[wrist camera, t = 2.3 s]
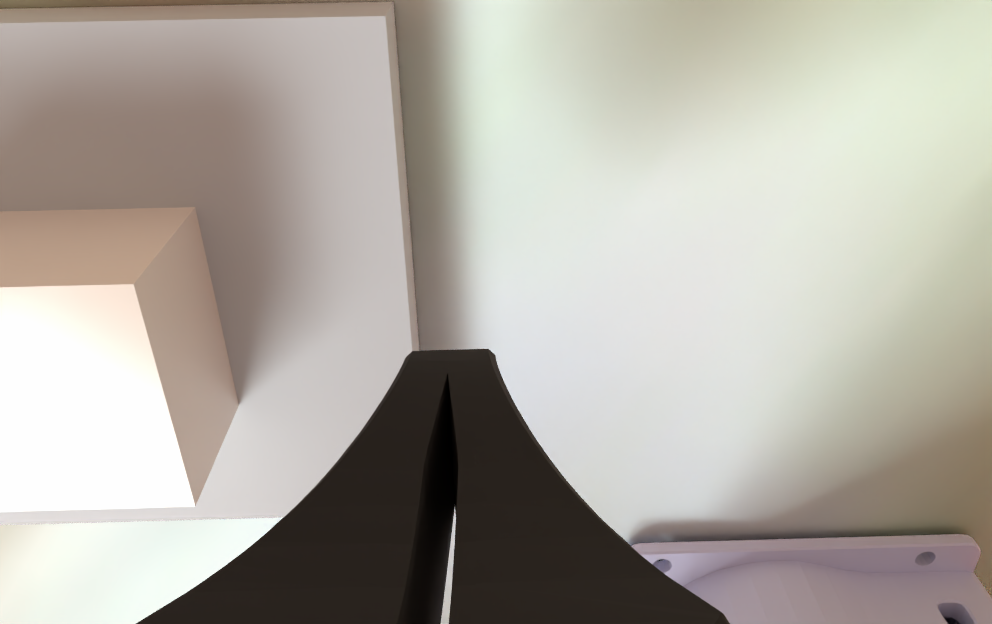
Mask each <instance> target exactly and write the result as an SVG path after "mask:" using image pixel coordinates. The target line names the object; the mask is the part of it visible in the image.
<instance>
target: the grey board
mask: <svg viewBox="0 0 992 624" xmlns="http://www.w3.org/2000/svg"><path fill="white" fill-rule="evenodd" d="M179 207H195V209H196V213H197V218H198V222H199V227H200V231H201V236H202V240H203V245H204V249H205V254H206V258H207V263H208V267H209V272H210V277H211V281H212V286H213V290H214V295H215V299H216V304H217V308H218V313H219V317H220V322H221V326H222V331H223V335H224V340H225V344H226V349H227V353H228V358H229V363H230V367H231V372H232V376H233V381H234V385H235V390H236V394H237V399H238V403H239V406H238V409H237V411H236V413H235V416H234V418H233V420H232V423H231V425H230V427H229V430H228V432H227V434H226V437H225V439H224V441H223V444H222V446H221V448H220V450H219V453H218V455H217V457H216V460H215V462H214V464H213V467H212V469H211V471H210V474H209V476H208V478H207V481H206V483H205V485H204V488H203V490H202V492H201V495H200V497H199V499H198V502H197V504H196V506H195V507H163V508H127V509H90V510H54V511H17V512H0V525H22V524H59V523H95V522H131V521H167V520H203V519H240V518H276V517H285V516H286V515H287V514H288V513H289V512H290V511H291V510H292V509H293V508H294V507H295V506H296V505H297V504H298V503H299V502H300V501H301V500H302V499H303V498H304V497H305V496H306V495H307V494H308V493H309V492H310V491H311V490H312V489H313V488H314V487H315V486H316V485H317V484H318V483H319V482H320V480H321V479H322V478H323V477H324V476H325V475H326V474H327V473H328V471H329V470H330V469H331V468H332V467H333V466H334V465H335V463H336V462H337V461H338V460H339V458H340V457H341V456H342V455H343V453H344V452H345V451H346V449H347V448H348V447H349V446H350V444H351V443H352V442H353V441H354V439H355V438H356V437H357V435H358V434H359V433H360V431H361V430H362V429H363V427H364V426H365V424H366V423H367V422H368V420H369V419H370V417H371V416H372V414H373V413H374V411H375V410H376V408H377V407H378V405H379V404H380V402H381V401H382V399H383V398H384V396H385V394H386V393H387V391H388V389H389V388H390V386H391V385H392V383H393V381H394V379H395V378H396V376H397V374H398V372H399V370H400V368H401V366H402V364H403V362H404V360H405V358H406V356H408V355H409V354H410V353H411V352H412V351H420V349H419V336H418V323H417V309H416V296H415V282H414V269H413V255H412V242H411V229H410V215H409V202H408V188H407V175H406V161H405V148H404V134H403V121H402V108H401V94H400V81H399V67H398V54H397V40H396V27H395V14H394V1H393V2H339V3H284V4H230V5H175V6H121V7H66V8H12V9H0V211H42V210H88V209H133V208H179Z"/></svg>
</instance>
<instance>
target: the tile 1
mask: <svg viewBox="0 0 992 624" xmlns="http://www.w3.org/2000/svg"><path fill="white" fill-rule="evenodd" d="M238 406H239V403H238V399H237V394H236V390H235V385H234V381H233V376H232V372H231V367H230V363H229V358H228V353H227V349H226V344H225V340H224V335H223V331H222V326H221V322H220V317H219V313H218V308H217V304H216V299H215V295H214V290H213V286H212V281H211V277H210V272H209V267H208V263H207V258H206V254H205V249H204V245H203V240H202V236H201V231H200V227H199V222H198V218H197V213H196V209H195V207H179V208H133V209H88V210H42V211H0V512H17V511H54V510H90V509H127V508H163V507H195V506H196V504H197V502H198V499H199V497H200V495H201V492H202V490H203V488H204V485H205V483H206V481H207V478H208V476H209V474H210V471H211V469H212V467H213V464H214V462H215V460H216V457H217V455H218V453H219V450H220V448H221V446H222V444H223V441H224V439H225V437H226V434H227V432H228V430H229V427H230V425H231V423H232V420H233V418H234V416H235V413H236V411H237V409H238Z"/></svg>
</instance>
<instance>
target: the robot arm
mask: <svg viewBox="0 0 992 624" xmlns="http://www.w3.org/2000/svg"><path fill="white" fill-rule="evenodd" d="M454 507H455V510H456V531H455V549H454V564H453V580H452V593H451V605H450V618H449V624H992V598H991V596H990V595H989V593H988V592H987V590H986V589H985V588H984V586H983V585H982V583H981V582H980V580H979V579H978V578H977V576H976V575H975V573H973V572H974V570H975V567H976V565H977V563H978V560H979V558H980V555H981V549H980V547H979V546H978V544H977V543H976V542H975V540H974V539H973V538H972V537H970V536H969V535H964V534H944V535H909V536H873V537H838V538H803V539H767V540H732V541H696V542H661V543H639V544H634V545H632V546H630V545H629V544H628V543H627V542H626V541H625V540H624V539H623V538H622V537H620V536H619V535H618V534H617V533H616V532H615V531H614V530H613V529H612V528H611V527H609V526H608V525H607V524H606V523H605V522H604V521H603V520H602V519H601V518H600V517H599V516H598V515H597V514H596V513H595V512H594V511H593V510H592V509H591V508H590V507H589V505H588V504H587V503H586V502H585V501H584V500H583V499H582V498H581V497H580V496H579V495H578V493H577V492H576V491H575V490H574V489H573V488H572V486H571V485H570V484H569V483H568V482H567V481H566V479H565V478H564V477H563V476H562V474H561V473H560V472H559V471H558V469H557V468H556V467H555V465H554V464H553V463H552V461H551V460H550V459H549V457H548V456H547V454H546V453H545V452H544V450H543V449H542V447H541V446H540V444H539V443H538V442H537V440H536V438H535V437H534V435H533V434H532V432H531V431H530V429H529V428H528V426H527V424H526V422H525V421H524V419H523V417H522V416H521V414H520V412H519V411H518V409H517V407H516V405H515V403H514V402H513V400H512V398H511V396H510V394H509V392H508V390H507V387H506V385H505V383H504V381H503V379H502V376H501V374H500V371H499V368H498V365H497V362H496V357H495V355H494V354H493V353H492V352H491V351H490V350H489V349H469V350H431V351H412V352H411V353H410V354H409V355H408V356H406V358H405V360H404V362H403V364H402V366H401V368H400V370H399V372H398V374H397V376H396V378H395V379H394V381H393V383H392V385H391V386H390V388H389V389H388V391H387V393H386V394H385V396H384V398H383V399H382V401H381V402H380V404H379V405H378V407H377V408H376V410H375V411H374V413H373V414H372V416H371V417H370V419H369V420H368V422H367V423H366V424H365V426H364V427H363V429H362V430H361V431H360V433H359V434H358V435H357V437H356V438H355V439H354V441H353V442H352V443H351V444H350V446H349V447H348V448H347V449H346V451H345V452H344V453H343V455H342V456H341V457H340V458H339V460H338V461H337V462H336V463H335V465H334V466H333V467H332V468H331V469H330V470H329V471H328V473H327V474H326V475H325V476H324V477H323V478H322V479H321V480H320V482H319V483H318V484H317V485H316V486H315V487H314V488H313V489H312V490H311V491H310V492H309V493H308V494H307V495H306V496H305V497H304V498H303V499H302V500H301V501H300V502H299V503H298V504H297V505H296V506H295V507H294V508H293V509H292V510H291V511H290V512H289V513H288V514H287V515H286V516H285V517H284V518H282V519H281V520H280V521H279V522H278V523H277V524H276V525H275V526H274V527H273V528H272V529H271V530H269V531H268V532H267V533H266V534H265V535H264V536H263V537H261V538H260V539H259V540H258V541H257V542H255V543H254V544H253V545H252V546H251V547H249V548H248V549H247V550H246V551H244V552H243V553H242V554H240V555H239V556H238V557H236V558H235V559H234V560H232V561H231V562H230V563H228V564H227V565H226V566H224V567H223V568H222V569H220V570H219V571H217V572H216V573H215V574H213V575H212V576H210V577H209V578H208V579H206V580H205V581H203V582H202V583H200V584H199V585H197V586H196V587H194V588H193V589H191V590H190V591H188V592H187V593H185V594H184V595H182V596H180V597H179V598H177V599H176V600H174V601H172V602H171V603H169V604H167V605H166V606H164V607H163V608H161V609H159V610H158V611H156V612H154V613H153V614H151V615H150V616H148V617H146V618H145V619H143V620H141V621H140V622H138V623H136V624H440V623H441V615H442V607H443V599H444V590H445V582H446V574H447V566H448V558H449V549H450V541H451V533H452V524H453V516H454ZM660 559H665V560H663V561H659V562H657V560H660Z"/></svg>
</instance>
